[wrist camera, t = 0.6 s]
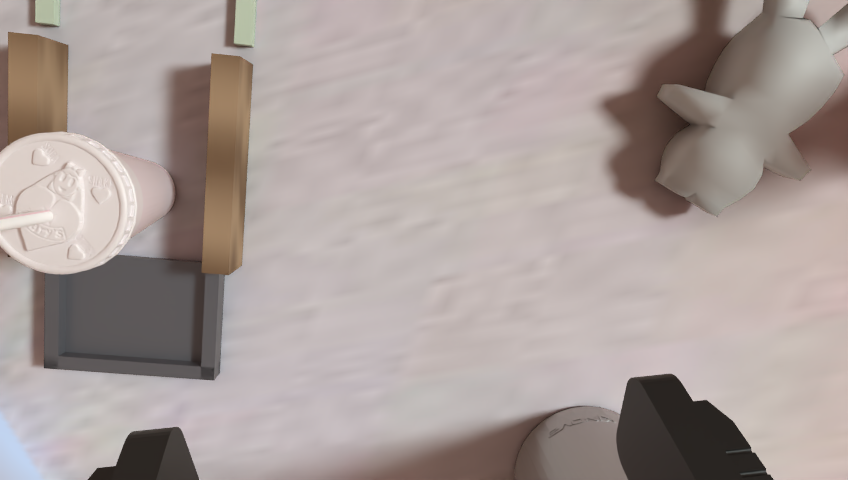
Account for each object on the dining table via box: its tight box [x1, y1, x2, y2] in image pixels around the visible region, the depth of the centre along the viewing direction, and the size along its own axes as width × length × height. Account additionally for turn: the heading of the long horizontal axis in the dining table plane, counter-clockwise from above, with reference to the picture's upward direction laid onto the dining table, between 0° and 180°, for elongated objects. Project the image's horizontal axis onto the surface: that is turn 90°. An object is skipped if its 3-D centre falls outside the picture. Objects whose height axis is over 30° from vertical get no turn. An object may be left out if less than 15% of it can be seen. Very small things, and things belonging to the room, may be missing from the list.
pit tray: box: [44, 255, 225, 380], centre depth 36 cm, size 7×10×1 cm
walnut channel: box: [8, 32, 253, 275], centre depth 34 cm, size 12×12×3 cm
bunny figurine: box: [655, 0, 848, 217], centre depth 35 cm, size 10×5×15 cm
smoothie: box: [0, 132, 176, 274], centre depth 29 cm, size 6×6×14 cm
